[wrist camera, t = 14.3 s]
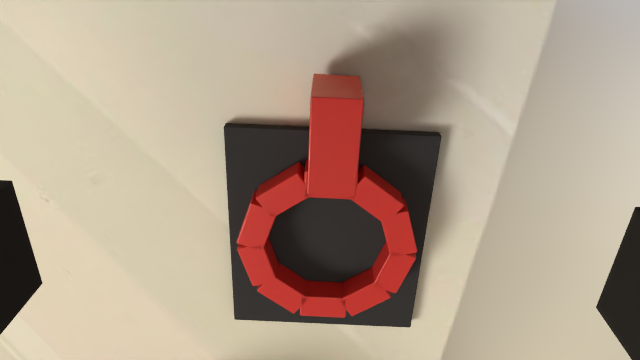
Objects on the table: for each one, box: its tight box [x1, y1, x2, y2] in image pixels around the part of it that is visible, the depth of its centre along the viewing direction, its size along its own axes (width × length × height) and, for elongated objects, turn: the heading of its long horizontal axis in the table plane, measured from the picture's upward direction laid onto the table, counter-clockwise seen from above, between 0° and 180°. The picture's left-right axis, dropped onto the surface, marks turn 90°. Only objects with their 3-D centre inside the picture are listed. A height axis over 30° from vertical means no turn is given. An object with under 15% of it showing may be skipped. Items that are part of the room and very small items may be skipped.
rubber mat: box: [224, 123, 441, 327], centre depth 30 cm, size 12×14×1 cm
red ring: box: [237, 74, 417, 318], centre depth 27 cm, size 15×11×4 cm
